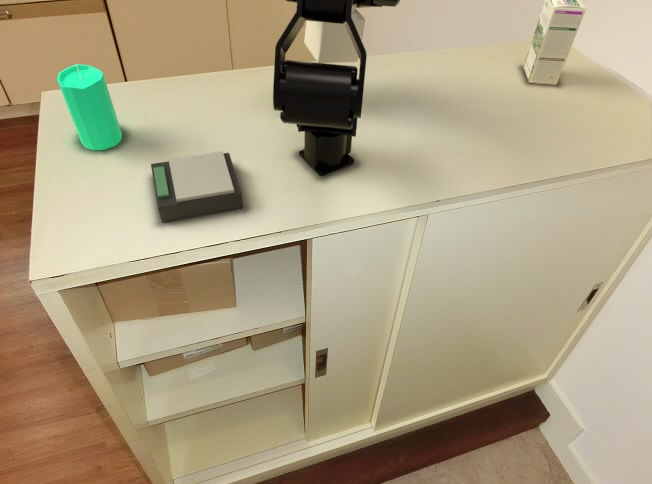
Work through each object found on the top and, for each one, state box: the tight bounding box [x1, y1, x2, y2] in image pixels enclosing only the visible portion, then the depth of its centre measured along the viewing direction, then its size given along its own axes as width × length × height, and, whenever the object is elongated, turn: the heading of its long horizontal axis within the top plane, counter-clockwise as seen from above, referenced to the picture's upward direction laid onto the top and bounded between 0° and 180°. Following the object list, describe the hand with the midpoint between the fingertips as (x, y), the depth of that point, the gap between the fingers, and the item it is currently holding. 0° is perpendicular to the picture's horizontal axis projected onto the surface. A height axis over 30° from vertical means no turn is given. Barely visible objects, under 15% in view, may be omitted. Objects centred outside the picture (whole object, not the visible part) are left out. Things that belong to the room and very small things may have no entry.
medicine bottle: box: [303, 0, 366, 64], centre depth 83 cm, size 7×7×12 cm
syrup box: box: [522, 0, 587, 86], centre depth 97 cm, size 6×6×14 cm
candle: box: [56, 63, 123, 151], centre depth 77 cm, size 6×6×12 cm
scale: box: [150, 151, 244, 223], centre depth 74 cm, size 11×9×3 cm
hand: (333, 3), depth 83 cm, fingers closed on medicine bottle, 7 cm apart
